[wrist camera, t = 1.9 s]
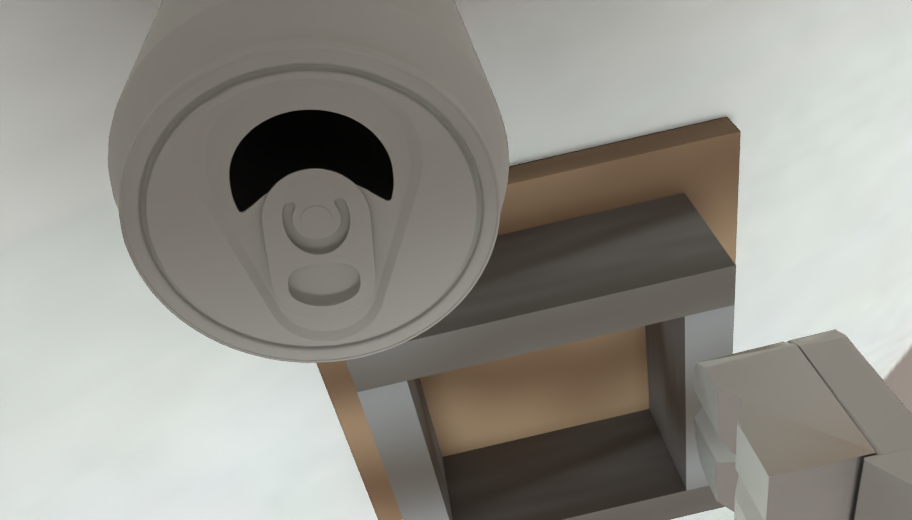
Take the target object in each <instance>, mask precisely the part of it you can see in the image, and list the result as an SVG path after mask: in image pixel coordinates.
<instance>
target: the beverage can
mask: <svg viewBox="0 0 912 520" xmlns="http://www.w3.org/2000/svg"><path fill="white" fill-rule="evenodd" d="M108 168H109V175H110V180H111V186H112V191H113V196H114V199H115V202H116V205H117V207H118V210H119V217H120V223H121V228H122V234H123V238H124V242H125V245H126V247H127V250H128V252H129V255H130V257H131V259H132V261H133V263H134V265H135V267H136V269H137V271H138V272H139V274H140V276H141V277H142V279H143V280H144V282H145V283H146V285H147V286H148V287H149V289H150V290H151V291H152V293H153V294H154V295H155V296H156V297H157V298H158V299H159V300H160V302H161V303H162V304H163V305H164V306H166V307H167V308H168V309H169V310H170V311H171V312H172V313H173V314H174V315H176V316H177V317H178V318H179V319H180V320H182V321H183V322H184V323H186V324H187V325H189V326H190V327H192V328H193V329H195V330H196V331H198V332H200V333H201V334H203V335H205V336H207V337H208V338H210V339H212V340H215V341H217V342H219V343H221V344H223V345H226V346H228V347H230V348H233V349H236V350H239V351H242V352H245V353H248V354H252V355H256V356H260V357H264V358H269V359H274V360H280V361H289V362H302V363H319V362H336V361H343V360H349V359H355V358H360V357H365V356H369V355H372V354H375V353H379V352H382V351H385V350H388V349H391V348H393V347H396V346H398V345H400V344H402V343H404V342H406V341H408V340H410V339H413V338H415V337H416V336H418V335H420V334H421V333H423V332H425V331H427V330H428V329H430V328H431V327H432V326H434V325H435V324H437V323H438V322H439V321H441V320H442V319H443V318H444V317H446V316H447V315H448V314H449V313H450V312H451V311H452V310H454V309H455V308H456V307H457V306H458V305H459V304H460V303H461V301H462V300H463V299H464V298H465V297H466V296H467V295H468V294H469V292H470V291H471V290H472V288H473V287H474V286H475V284H476V283H477V281H478V279H479V278H480V276H481V275H482V273H483V271H484V269H485V267H486V265H487V263H488V261H489V259H490V256H491V254H492V251H493V249H494V245H495V242H496V238H497V234H498V228H499V223H500V213H501V209H502V205H503V202H504V198H505V193H506V188H507V183H508V173H509V153H508V142H507V136H506V131H505V127H504V123H503V120H502V116H501V113H500V110H499V107H498V105H497V102H496V100H495V97H494V95H493V93H492V90H491V88H490V85H489V83H488V81H487V78H486V76H485V73H484V71H483V69H482V66H481V64H480V61H479V59H478V57H477V54H476V52H475V49H474V47H473V45H472V42H471V40H470V37H469V35H468V33H467V30H466V28H465V25H464V23H463V21H462V18H461V16H460V14H459V11H458V9H457V6H456V4H455V2H454V0H163V1H162V3H161V5H160V8H159V10H158V12H157V14H156V17H155V19H154V21H153V24H152V26H151V28H150V30H149V33H148V35H147V37H146V39H145V42H144V44H143V46H142V49H141V51H140V53H139V55H138V58H137V60H136V62H135V64H134V67H133V69H132V71H131V74H130V76H129V78H128V80H127V83H126V85H125V87H124V89H123V92H122V94H121V96H120V99H119V101H118V103H117V106H116V109H115V113H114V117H113V121H112V125H111V129H110V135H109V149H108Z"/></svg>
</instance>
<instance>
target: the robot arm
mask: <svg viewBox="0 0 912 520" xmlns="http://www.w3.org/2000/svg"><path fill="white" fill-rule="evenodd" d="M694 391H695V393H696V395H697V397H698V398H699V400H700V402H701V404H702V406H703V407H702V408H701V409H700V411H699V412H698V413H697V415H696V416H695V417H694V425H695V440H696V445H697V449H698V453H699V458H700V462H701V465H702V468H703V471H704V473H705V476H706V479H707V481H708V483H709V486H710V488H711V490H712V492H713V494H714V496H715V498H716V500H717V502H719V503H721V504H722V505H724V506H725V507H727V508H729V509H730V510H732V511H734V520H912V414H911V413H910V411H909V410H908V409H907V408H906V407H905V405H904V404H903V403H902V402H901V401H900V400H899V398H898V397H897V396H896V395H895V394H894V392H893V391H892V390H891V389H890V388H889V386H888V385H887V384H886V383H885V382H884V380H883V379H882V378H881V377H880V376H879V374H878V373H877V372H876V371H875V370H874V368H873V367H872V366H871V365H870V364H869V362H868V361H867V360H866V359H865V358H864V356H863V355H862V354H861V353H860V352H859V351H858V349H857V348H856V347H855V346H854V345H853V343H852V342H851V341H850V340H849V339H848V337H847V336H846V335H845V334H843V333H841V332H839V331H837V330H831V331H827V332H823V333H818V334H814V335H810V336H806V337H802V338H798V339H794V340H789V341H788V342H780V343H776V344H772V345H768V346H764V347H760V348H756V349H751V350H747V351H743V352H739V353H735V354H731V355H727V356H723V357H719V358H715V359H710V360H706V361H702V362H698V363H696V366H695V369H694Z"/></svg>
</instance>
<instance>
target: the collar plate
mask: <svg viewBox="0 0 912 520" xmlns="http://www.w3.org/2000/svg"><path fill="white" fill-rule="evenodd" d="M739 156H740V130H739V129H738V128H737V127H736V126H735V125H734V124H733V123H732V122H731V120H730V119H729V118H728V117H725V118H721V119H716V120H712V121H708V122H703V123H699V124H695V125H690V126H686V127H682V128H677V129H673V130H669V131H664V132H660V133H656V134H651V135H647V136H642V137H638V138H634V139H629V140H625V141H621V142H616V143H612V144H608V145H603V146H599V147H595V148H590V149H586V150H582V151H577V152H573V153H569V154H564V155H560V156H555V157H551V158H547V159H542V160H538V161H534V162H529V163H525V164H521V165H516V166H512V167H509V173H508V183H507V188H506V193H505V198H504V202H503V205H502V209H501V213H500V223H499V228H498V234H497V238H496V242H495V245H494V249H493V251H492V254H491V256H490V259H489V261H488V263H487V265H486V267H485V269H484V271H483V273H482V275H481V276H480V278H479V279H478V281H477V283H476V284H475V286H474V287H473V288H472V290H471V291H470V292H469V294H468V295H467V296H466V297H465V298H464V299H463V300H462V301H461V303H460V304H459V305H458V306H457V307H456V308H455V309H454V310H452V311H451V312H450V313H449V314H448V315H447V316H446V317H444V318H443V319H442V320H441V321H439V322H438V323H437V324H435V325H434V326H432V327H431V328H430V329H428V330H427V331H425V332H423V333H421V334H420V335H418V336H416V337H415V338H413V339H410V340H408V341H406V342H404V343H402V344H400V345H398V346H396V347H393V348H391V349H388V350H385V351H382V352H379V353H375V354H372V355H369V356H365V357H360V358H355V359H349V360H343V361H336V362H319V363H317V366H318V368H319V371H320V373H321V376H322V378H323V381H324V384H325V386H326V389H327V391H328V394H329V396H330V399H331V401H332V404H333V406H334V409H335V411H336V414H337V416H338V419H339V422H340V424H341V427H342V429H343V432H344V434H345V437H346V439H347V442H348V444H349V447H350V449H351V452H352V454H353V457H354V460H355V462H356V465H357V467H358V470H359V472H360V475H361V477H362V480H363V482H364V485H365V487H366V490H367V492H368V495H369V498H370V500H371V503H372V505H373V508H374V510H375V513H376V515H377V518H378V520H670V519H674V518H679V517H683V516H687V515H691V514H696V513H700V512H704V511H708V510H713V509H717V508H721V507H725V506H724V505H722V504H721V503H719V502H717V500H716V498H715V496H714V494H713V492H712V490H711V488H710V486H709V483H708V481H707V479H706V476H705V473H704V471H703V468H702V465H701V462H700V458H699V453H698V449H697V445H696V440H695V425H694V417H695V416H696V415H697V413H698V412H699V411H700V409H701V408H702V407H703V406H702V404H701V402H700V400H699V398H698V397H697V395H696V393H695V391H694V369H695V366H696V363H698V362H702V361H706V360H710V359H715V358H719V357H723V356H727V355H731V354H732V352H733V327H734V301H735V276H736V265H735V259H736V233H737V207H738V182H739Z"/></svg>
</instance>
